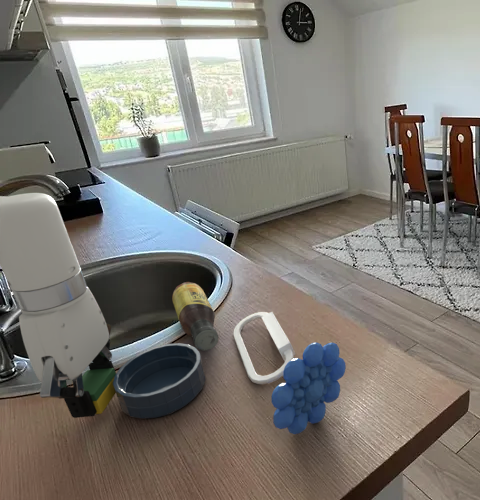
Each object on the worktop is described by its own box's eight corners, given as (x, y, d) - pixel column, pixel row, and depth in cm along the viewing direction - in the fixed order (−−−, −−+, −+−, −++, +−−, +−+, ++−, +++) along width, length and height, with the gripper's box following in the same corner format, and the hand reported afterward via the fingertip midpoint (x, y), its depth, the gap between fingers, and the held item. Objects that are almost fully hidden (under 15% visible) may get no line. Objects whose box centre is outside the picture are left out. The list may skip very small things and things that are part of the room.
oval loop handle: (234, 334, 80) (225, 319, 78) (272, 313, 82) (264, 299, 80) (259, 400, 63) (248, 383, 61) (306, 372, 65) (297, 355, 63)
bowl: (106, 425, 58) (96, 400, 57) (142, 368, 70) (135, 346, 68) (192, 417, 59) (185, 392, 57) (215, 362, 70) (209, 340, 68)
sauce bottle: (208, 292, 89) (235, 339, 73) (185, 312, 88) (208, 364, 72) (187, 273, 85) (210, 318, 69) (162, 294, 84) (181, 345, 68)
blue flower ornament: (329, 384, 63) (321, 317, 58) (359, 408, 58) (352, 336, 53) (261, 427, 56) (246, 354, 51) (288, 458, 51) (274, 380, 46)
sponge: (73, 416, 58) (64, 396, 57) (94, 388, 63) (87, 369, 62) (101, 413, 58) (94, 394, 57) (120, 386, 63) (113, 367, 62)
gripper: (63, 264, 61) (101, 363, 68) (-31, 330, 45) (32, 450, 53) (113, 260, 61) (147, 359, 68) (37, 324, 45) (91, 445, 53)
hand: (96, 397), depth 60 cm, fingers closed on sponge, 5 cm apart
